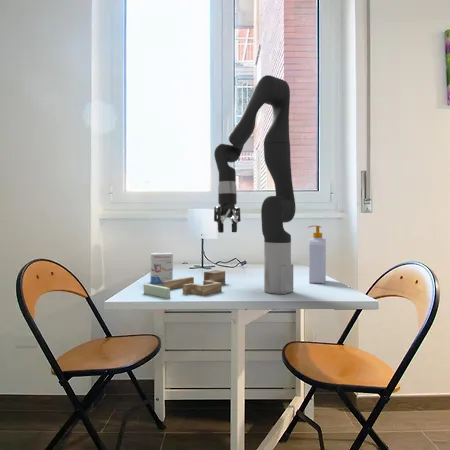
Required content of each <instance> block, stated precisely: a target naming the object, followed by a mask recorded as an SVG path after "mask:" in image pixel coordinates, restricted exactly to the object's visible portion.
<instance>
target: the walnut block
mask: <svg viewBox="0 0 450 450" xmlns="http://www.w3.org/2000/svg"><path fill="white" fill-rule="evenodd" d="M206 280H214V282H220V283H222V285H225V284H226V270H225V271H224V270H219V269H218V270H217V269H214V270H208V271H203V281H206Z"/></svg>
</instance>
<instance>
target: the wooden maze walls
mask: <svg viewBox="0 0 450 450" xmlns="http://www.w3.org/2000/svg"><path fill="white" fill-rule="evenodd" d="M202 282H203V283H202V284H198V283H195V278H194V277H193V276H187V277H182V278H176V279H173V280H168V281H163V283H162V287H167V288H170V290H174V289H181V288H182V295H188V294H195V295H201V296H207V295H212V294H216V292H217V293H219V292H220V293H221V292H222V285H223V284H222V283H220V282H214V280H206V281H204V280H203V281H202Z"/></svg>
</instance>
